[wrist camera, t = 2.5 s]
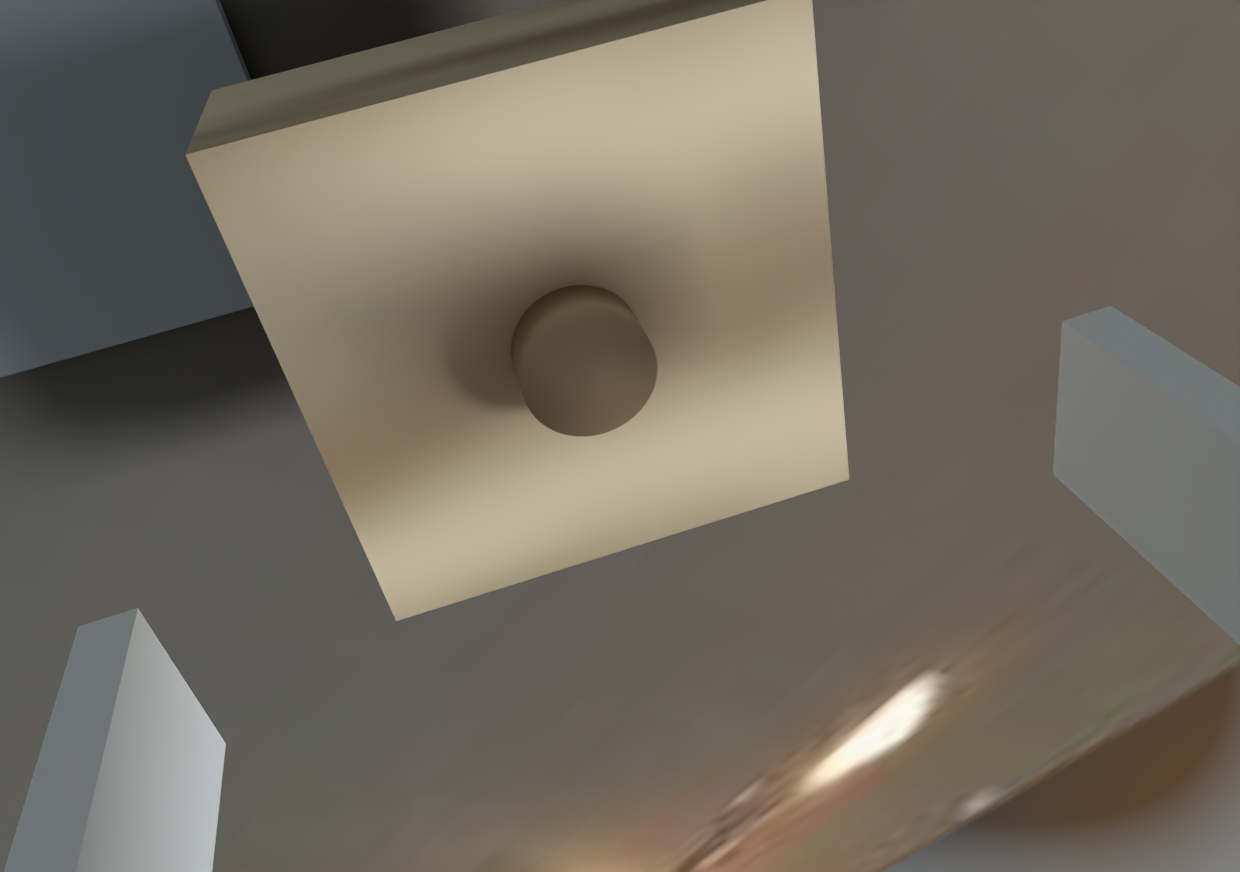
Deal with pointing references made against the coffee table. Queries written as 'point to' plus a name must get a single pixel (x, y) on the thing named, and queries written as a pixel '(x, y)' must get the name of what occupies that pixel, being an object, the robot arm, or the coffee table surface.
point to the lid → (544, 279)
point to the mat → (107, 174)
